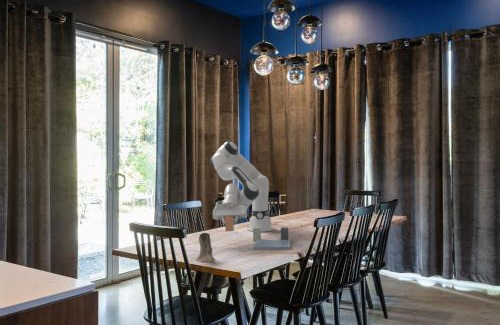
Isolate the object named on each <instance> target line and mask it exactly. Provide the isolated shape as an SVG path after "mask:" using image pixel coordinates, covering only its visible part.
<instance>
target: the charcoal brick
mask: <svg viewBox="0 0 500 325" xmlns="http://www.w3.org/2000/svg"><path fill="white" fill-rule="evenodd" d="M280 240H289V227H288V226H281V227H280Z"/></svg>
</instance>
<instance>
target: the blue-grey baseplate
mask: <svg viewBox="0 0 500 325" xmlns="http://www.w3.org/2000/svg"><path fill="white" fill-rule="evenodd" d="M290 241H291V239H288V240H281V239H261V240H256V241H255V244H254V245H253V249H254V250H291V242H290Z"/></svg>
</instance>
